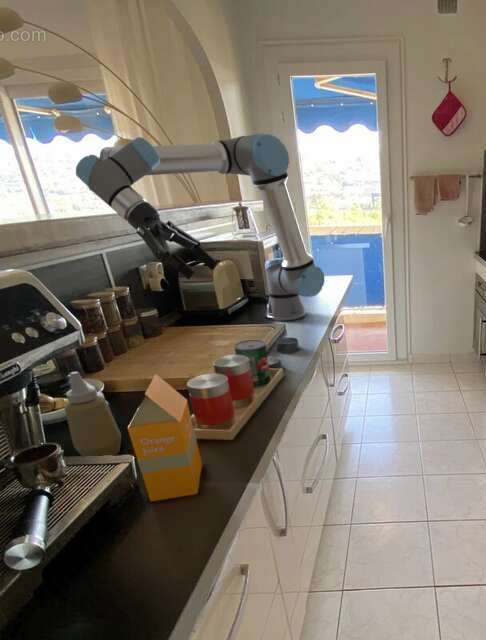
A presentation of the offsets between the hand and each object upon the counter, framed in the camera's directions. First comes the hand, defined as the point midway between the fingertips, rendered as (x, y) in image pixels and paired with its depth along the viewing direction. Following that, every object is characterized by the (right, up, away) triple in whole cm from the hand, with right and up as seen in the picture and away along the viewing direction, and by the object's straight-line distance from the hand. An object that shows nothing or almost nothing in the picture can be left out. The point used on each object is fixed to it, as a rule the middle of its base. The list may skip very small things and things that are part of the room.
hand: (204, 271), depth 122 cm
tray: (+14, -36, -12) cm, 41 cm away
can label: (+14, -36, -12) cm, 40 cm away
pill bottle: (-12, -42, -23) cm, 50 cm away
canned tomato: (+15, -31, -1) cm, 34 cm away
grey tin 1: (+15, -27, +9) cm, 32 cm away
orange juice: (+14, -51, -41) cm, 67 cm away
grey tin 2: (+17, -19, +25) cm, 35 cm away
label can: (+13, -41, -23) cm, 49 cm away
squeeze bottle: (-6, -47, -32) cm, 57 cm away
